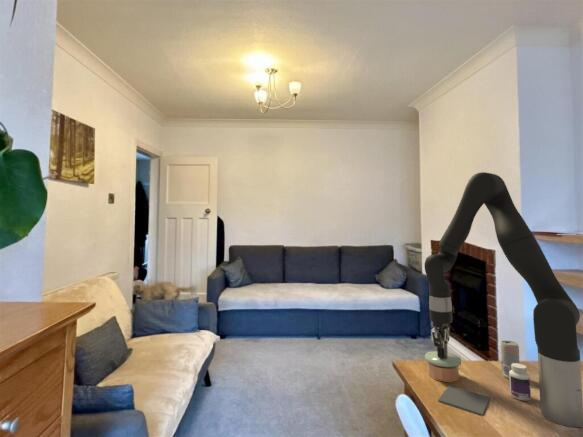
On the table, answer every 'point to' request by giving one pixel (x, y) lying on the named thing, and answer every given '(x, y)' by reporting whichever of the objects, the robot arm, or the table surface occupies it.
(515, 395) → the pill bottle
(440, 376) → the bowl
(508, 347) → the energy drink
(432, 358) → the lid
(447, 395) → the mat
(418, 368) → the table surface
